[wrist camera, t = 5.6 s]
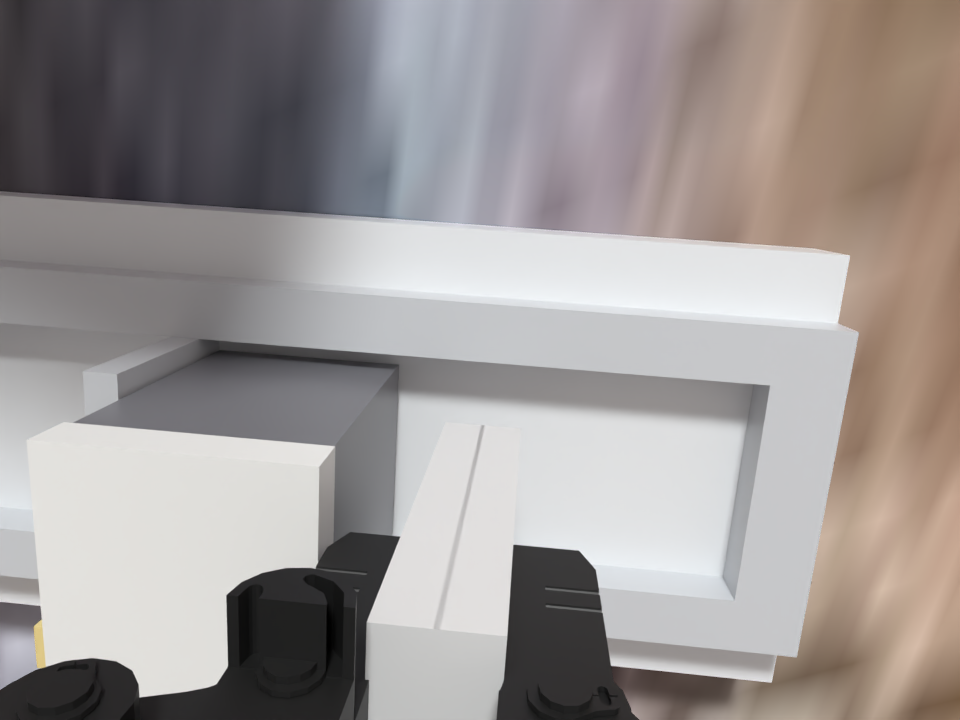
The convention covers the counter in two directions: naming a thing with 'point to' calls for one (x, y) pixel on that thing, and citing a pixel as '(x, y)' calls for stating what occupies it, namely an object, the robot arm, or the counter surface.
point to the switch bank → (482, 383)
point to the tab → (202, 503)
